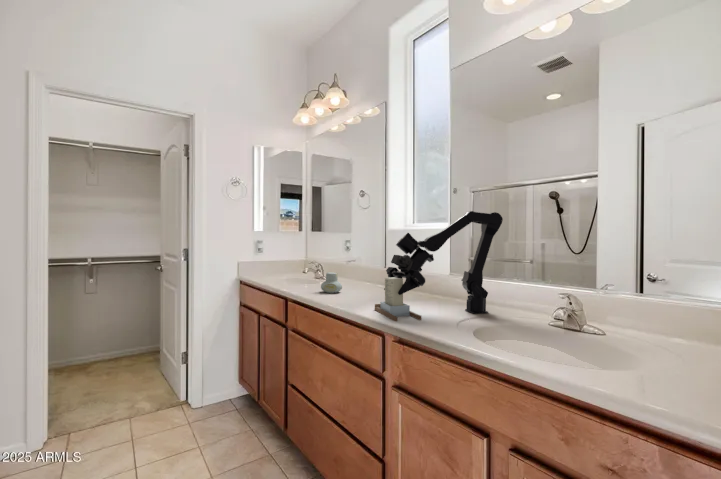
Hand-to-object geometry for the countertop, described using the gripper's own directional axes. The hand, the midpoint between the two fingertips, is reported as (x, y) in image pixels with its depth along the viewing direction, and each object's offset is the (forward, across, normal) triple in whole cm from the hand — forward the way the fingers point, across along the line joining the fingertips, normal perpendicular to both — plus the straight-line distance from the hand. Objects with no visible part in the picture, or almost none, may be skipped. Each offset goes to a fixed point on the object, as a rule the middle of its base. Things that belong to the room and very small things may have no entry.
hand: (391, 292), depth 131 cm
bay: (+5, +3, +6) cm, 8 cm away
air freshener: (+5, -56, +6) cm, 57 cm away
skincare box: (+5, +1, +5) cm, 7 cm away
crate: (+5, +1, +6) cm, 8 cm away
